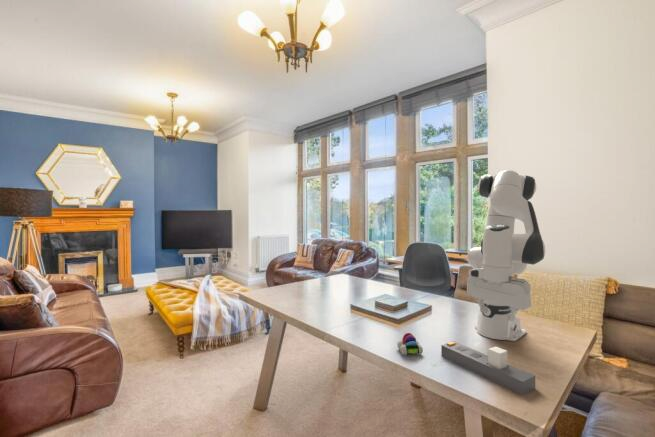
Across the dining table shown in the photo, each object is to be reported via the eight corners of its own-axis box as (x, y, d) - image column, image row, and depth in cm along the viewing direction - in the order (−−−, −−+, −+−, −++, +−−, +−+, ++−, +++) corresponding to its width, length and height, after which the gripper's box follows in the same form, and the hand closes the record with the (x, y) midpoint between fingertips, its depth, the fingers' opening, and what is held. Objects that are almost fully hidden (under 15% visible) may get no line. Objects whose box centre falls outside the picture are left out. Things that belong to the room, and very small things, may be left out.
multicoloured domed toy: (416, 347, 132) (416, 329, 132) (424, 357, 122) (424, 339, 122) (396, 347, 132) (396, 329, 132) (402, 358, 122) (402, 339, 122)
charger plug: (495, 372, 109) (495, 346, 109) (506, 377, 106) (507, 350, 105) (488, 375, 107) (488, 348, 107) (499, 381, 104) (500, 353, 103)
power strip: (453, 353, 125) (453, 339, 125) (535, 391, 99) (535, 373, 99) (441, 358, 122) (441, 343, 122) (522, 398, 96) (522, 379, 96)
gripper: (535, 279, 98) (535, 323, 98) (475, 268, 116) (475, 306, 116) (524, 281, 95) (523, 327, 95) (464, 270, 113) (463, 309, 113)
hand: (496, 315), depth 106 cm, fingers open, 8 cm apart
